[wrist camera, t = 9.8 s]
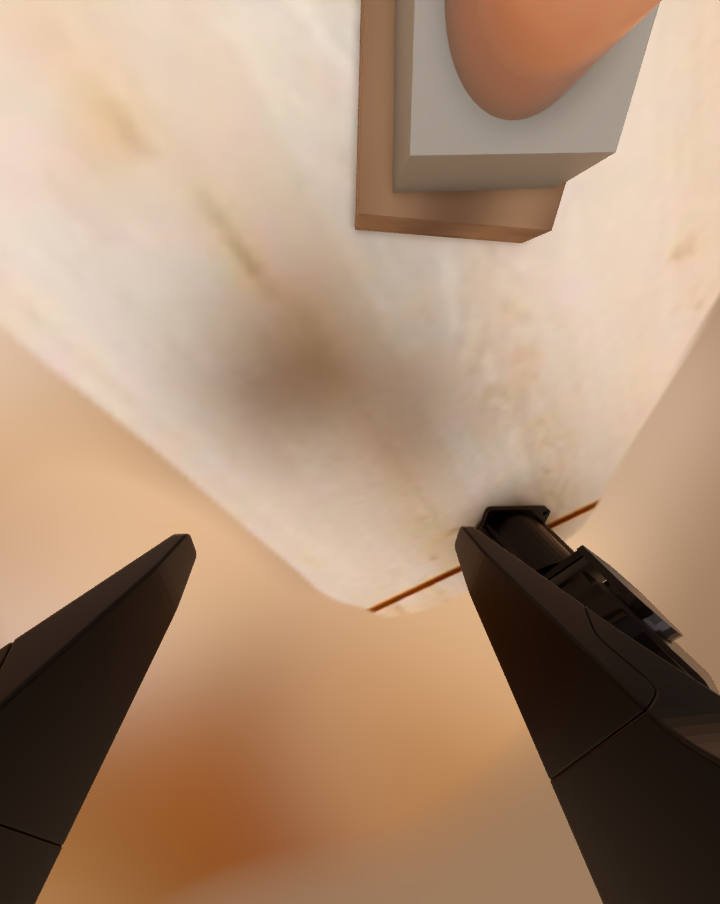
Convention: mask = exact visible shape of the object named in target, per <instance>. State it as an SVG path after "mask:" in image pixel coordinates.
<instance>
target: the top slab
mask: <svg viewBox="0 0 720 904" xmlns="http://www.w3.org/2000/svg"><path fill="white" fill-rule="evenodd" d="M659 3H660V2H659ZM659 3H658V4H657V5H656V6H655V7H654V8H653V9H652V10H651V11H650V12H649V13H648V14H647V15H646V16H645V17H644V18H643V19H642V20H641V21H640V22H639V23H638V24H637V25H636V26H635V27H634V28H632V29H631V30H630V31H629V32H628V33H627V34H626V35H625V36H624V37H623V38H622V39H621V40H620V41H619V42H618V43H617V44H616V45H615V46H614V47H613V48H612V49H611V50H610V51H609V52H608V53H607V54H606V55H604V56H603V57H602V58H601V59H600V60H599V61H598V62H597V63H596V64H595V65H594V66H593V67H592V68H591V69H590V70H589V71H588V72H587V73H586V74H585V75H584V76H583V77H582V78H581V79H580V80H579V81H578V82H576V83H575V84H574V85H573V86H572V87H571V88H570V89H569V90H568V91H567V92H566V93H565V94H564V95H563V96H562V97H561V98H560V99H559V100H558V101H556V102H555V103H554V104H553V105H551V106H550V107H549V108H547V109H545V110H544V111H542V112H540V113H539V114H537V115H534V116H532V117H529V118H525V119H521V120H505V119H499V118H497V117H494V116H492V115H490V114H488V113H487V112H485V111H484V110H482V109H481V108H480V107H479V106H478V105H477V104H476V103H475V102H474V101H473V100H472V99H471V97H470V96H469V94H468V93H467V92H466V90H465V88H464V86H463V84H462V83H461V81H460V79H459V76H458V74H457V71H456V68H455V66H454V63H453V59H452V55H451V52H450V48H449V42H448V36H447V30H446V18H445V0H395V25H394V134H393V193H396V192H434V191H470V190H506V189H542V188H557V187H558V186H560V185H562V184H563V183H565V182H567V181H568V180H570V179H572V178H573V177H575V176H577V175H578V174H580V173H582V172H583V171H585V170H587V169H588V168H590V167H592V166H593V165H595V164H597V163H598V162H600V161H602V160H603V159H605V158H607V157H608V156H610V155H612V154H613V153H615V152H616V149H617V146H618V142H619V139H620V136H621V132H622V129H623V125H624V122H625V119H626V115H627V112H628V108H629V105H630V102H631V98H632V95H633V91H634V88H635V85H636V81H637V78H638V74H639V71H640V68H641V64H642V61H643V57H644V54H645V51H646V47H647V44H648V40H649V37H650V34H651V30H652V27H653V24H654V20H655V17H656V13H657V10H658V7H659Z"/></svg>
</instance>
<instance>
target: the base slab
mask: <svg viewBox="0 0 720 904" xmlns="http://www.w3.org/2000/svg"><path fill="white" fill-rule="evenodd" d="M394 25H395V0H361V25H360V64H359V103H358V142H357V181H356V220H355V230H367V231H380V232H392V233H404V234H416V235H429V236H441V237H453V238H465V239H478V240H490V241H502V242H514V243H523V242H525V241H528V240H530V239H532V238H535V237H537V236H540V235H542V234H544V233H547V232H549V231H551V230H552V227H553V224H554V220H555V217H556V214H557V211H558V207H559V204H560V201H561V197H562V194H563V191H564V187H565V184H566V182H565V183H563V184H562V185H560V186H558V187H557V188H542V189H506V190H470V191H434V192H396V193H393V134H394Z"/></svg>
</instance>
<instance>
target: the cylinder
mask: <svg viewBox="0 0 720 904" xmlns="http://www.w3.org/2000/svg"><path fill="white" fill-rule="evenodd" d="M660 1H662V0H445V18H446V30H447V36H448V42H449V48H450V52H451V55H452V59H453V63H454V66H455V68H456V71H457V74H458V76H459V79H460V81H461V83H462V84H463V86H464V88H465V90H466V92H467V93H468V94H469V96H470V97H471V99H472V100H473V101H474V102H475V103H476V104H477V105H478V106H479V107H480V108H481V109H482V110H484V111H485V112H487V113H488V114H490V115H492V116H494V117H497V118H499V119H505V120H521V119H525V118H529V117H532V116H534V115H537V114H539V113H540V112H542V111H544V110H545V109H547V108H549V107H550V106H551V105H553V104H554V103H555V102H556V101H558V100H559V99H560V98H561V97H562V96H563V95H564V94H565V93H566V92H567V91H568V90H569V89H570V88H571V87H572V86H573V85H574V84H575V83H576V82H578V81H579V80H580V79H581V78H582V77H583V76H584V75H585V74H586V73H587V72H588V71H589V70H590V69H591V68H592V67H593V66H594V65H595V64H596V63H597V62H598V61H599V60H600V59H601V58H602V57H603V56H604V55H606V54H607V53H608V52H609V51H610V50H611V49H612V48H613V47H614V46H615V45H616V44H617V43H618V42H619V41H620V40H621V39H622V38H623V37H624V36H625V35H626V34H627V33H628V32H629V31H630V30H631V29H632V28H634V27H635V26H636V25H637V24H638V23H639V22H640V21H641V20H642V19H643V18H644V17H645V16H646V15H647V14H648V13H649V12H650V11H651V10H652V9H653V8H654V7H655V6H656V5H657V4H658V3H659V2H660Z"/></svg>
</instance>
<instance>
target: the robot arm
mask: <svg viewBox="0 0 720 904" xmlns="http://www.w3.org/2000/svg"><path fill="white" fill-rule="evenodd" d="M549 514H550V510H549V509H548V508H547V507H491V508H488V509H487V510H486V512H485V514H484V517H483V520H482V523H481V526H480V528H479V531H478V530H477V529H476V528H474V527H471V526H466V527H461V528H460V529H459V532H458V535H457V539H456V542H455V550H456V553H457V556H458V559H459V563H460V566H461V569H462V572H463V575H464V578H465V581H466V584H467V587H468V590H469V593H470V596H471V598H472V601H473V603H474V605H475V607H476V610H477V612H478V614H479V617H480V619H481V621H482V623H483V626H484V628H485V630H486V633H487V635H488V637H489V640H490V642H491V645H492V647H493V649H494V651H495V654H496V656H497V658H498V661H499V663H500V665H501V668H502V670H503V672H504V675H505V676H506V679H507V682H508V683H509V686H510V688H511V691H512V693H513V695H514V698H515V700H516V702H517V704H518V707H519V709H520V712H521V714H522V716H523V719H524V721H525V723H526V726H527V728H528V730H529V732H530V735H531V737H532V739H533V742H534V744H535V746H536V749H537V751H538V753H539V755H540V758H541V760H542V762H543V765H544V767H545V769H546V772H547V774H548V776H549V778H550V779H551V784H552V786H553V789H554V791H555V793H556V795H557V798H558V800H559V802H560V804H561V807H562V809H563V812H564V814H565V816H566V818H567V821H568V823H569V826H570V828H571V830H572V833H573V835H574V837H575V839H576V842H577V844H578V846H579V849H580V851H581V853H582V856H583V858H584V860H585V863H586V865H587V867H588V869H589V872H590V874H591V876H592V879H593V881H594V883H595V886H596V888H597V890H598V893H599V895H600V897H601V900H602V902H603V904H720V694H719V692H718V690H717V688H716V686H715V684H714V681H713V680H712V678H711V676H710V675H709V674H708V673H707V672H706V671H705V670H704V669H703V668H702V667H701V666H700V665H699V664H698V663H697V662H696V661H695V660H694V659H693V658H692V657H691V656H690V655H689V654H688V653H686V652H685V651H684V650H683V649H682V648H681V647H680V646H679V645H678V644H677V643H676V642H675V641H674V640H676V639H678V638H680V637H682V636H683V635H682V634H681V632H680V631H679V630H678V629H677V628H676V627H675V626H674V625H673V624H672V623H671V622H670V621H669V620H668V619H667V618H666V617H665V616H664V615H663V614H661V612H660V611H659V610H658V609H657V608H656V607H655V606H654V605H653V604H652V603H651V602H650V601H649V600H648V599H647V598H646V597H645V596H644V595H643V594H642V593H641V592H639V590H638V589H636V588H635V587H634V586H633V585H632V584H631V583H630V582H628V581H627V580H626V579H625V578H624V577H623V576H621V575H620V574H619V573H618V572H617V571H616V570H615V569H613V568H612V567H611V566H610V565H609V564H607V563H606V562H605V561H603V560H602V559H601V558H599V557H598V556H597V555H595V554H594V553H593V552H591V551H590V550H589V549H587V548H586V547H584V546H583V545H582V546H580V547H579V548H578V549H577V551H576V552H574V551H573V550H572V549H571V548H569V546H568V545H567V544H566V543H565V542H564V541H563V540H562V539H561V538H559V537H558V536H557V535H556V534H555V533H554V532H553V531H552V530H551V529H550V528H549V527H548V526H547V525H546V524H545V521H546V519H547V517H548V516H549ZM195 559H196V550H195V547H194V544H193V542H192V539H191V536H190V535H189V534H174V535H172V536H171V537H169V538H168V539H166V540H164V541H163V542H161V543H160V544H158V545H157V546H155V547H154V548H152V549H151V550H149V551H148V552H146V553H145V554H143V555H142V556H140V557H139V558H137V559H136V560H134V561H133V562H131V563H130V564H128V565H127V566H125V567H124V568H122V569H121V570H119V571H118V572H116V573H115V574H113V575H112V576H110V577H109V578H107V579H106V580H104V581H103V582H101V583H100V584H98V585H97V586H95V587H94V588H92V589H91V590H89V591H88V592H86V593H85V594H83V595H82V596H80V597H79V598H77V599H76V600H74V601H72V602H71V603H70V604H68V605H66V606H65V607H63V608H62V609H60V610H59V611H57V612H56V613H54V614H53V615H51V616H50V617H48V618H47V619H45V620H44V621H42V622H41V623H40V624H38V625H36V626H35V627H33V628H32V629H30V630H29V631H27V632H26V633H24V634H23V635H21V636H20V637H18V638H17V639H15V641H14V642H13V643H9V644H7V645H6V646H4V647H3V648H1V649H0V904H35V903H36V900H37V898H38V896H39V894H40V892H41V890H42V888H43V886H44V884H45V882H46V879H47V878H48V876H49V874H50V871H51V869H52V867H53V865H54V863H55V861H56V859H57V857H58V855H59V853H60V850H61V849H62V846H61V845H63V843H64V842H65V840H66V838H67V836H68V833H69V832H70V829H71V827H72V825H73V823H74V821H75V819H76V817H77V815H78V813H79V811H80V809H81V807H82V804H83V803H84V800H85V798H86V796H87V794H88V792H89V790H90V788H91V786H92V784H93V782H94V780H95V778H96V776H97V773H98V771H99V769H100V767H101V765H102V763H103V761H104V759H105V757H106V755H107V753H108V751H109V748H110V747H111V745H112V743H113V741H114V738H115V736H116V734H117V732H118V730H119V728H120V726H121V724H122V722H123V720H124V718H125V716H126V714H127V711H128V709H129V707H130V705H131V703H132V701H133V699H134V697H135V695H136V693H137V691H138V689H139V687H140V685H141V682H142V681H143V678H144V676H145V674H146V672H147V670H148V668H149V666H150V664H151V662H152V660H153V658H154V656H155V654H156V651H157V650H158V647H159V645H160V643H161V641H162V639H163V637H164V635H165V633H166V631H167V629H168V627H169V625H170V623H171V621H172V619H173V616H174V614H175V612H176V610H177V607H178V605H179V602H180V600H181V597H182V595H183V592H184V589H185V586H186V584H187V581H188V578H189V575H190V573H191V570H192V567H193V565H194V562H195ZM605 580H607V581H605ZM603 581H605V582H603ZM602 582H603V583H602Z"/></svg>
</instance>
